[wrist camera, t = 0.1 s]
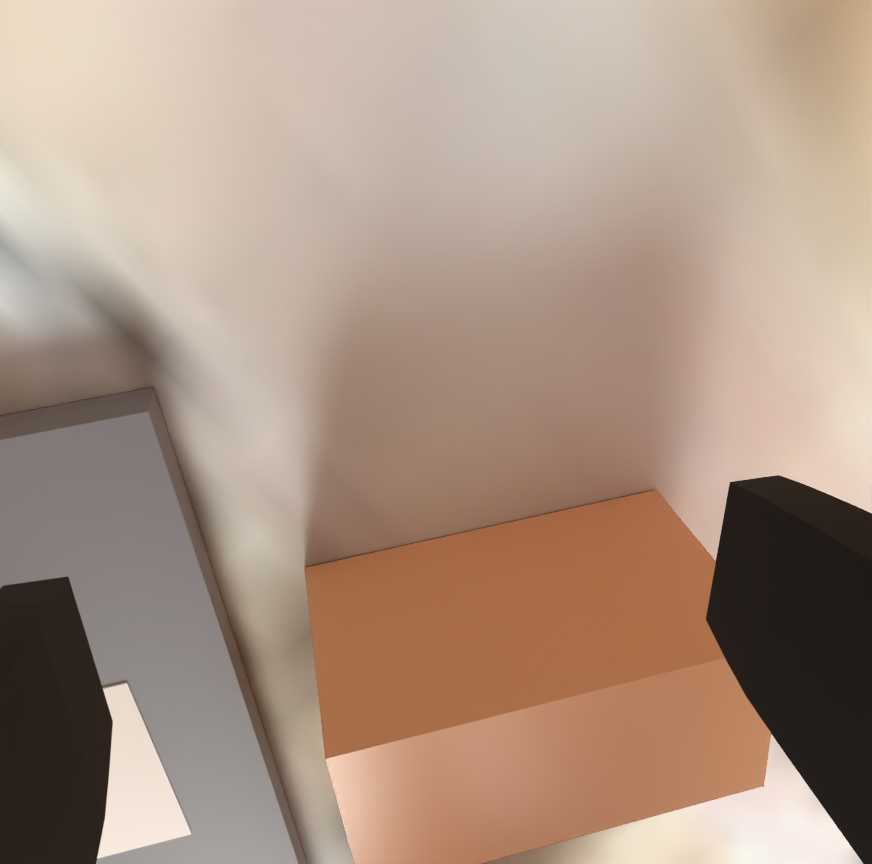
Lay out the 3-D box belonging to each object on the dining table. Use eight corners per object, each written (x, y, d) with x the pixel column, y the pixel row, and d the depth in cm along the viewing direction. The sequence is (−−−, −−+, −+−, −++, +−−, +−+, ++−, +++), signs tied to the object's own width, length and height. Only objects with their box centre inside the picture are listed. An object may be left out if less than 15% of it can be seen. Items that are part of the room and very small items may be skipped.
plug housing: (652, 616, 24) (763, 786, 19) (335, 693, 23) (363, 896, 18) (656, 489, 22) (783, 643, 17) (304, 567, 21) (325, 759, 16)
